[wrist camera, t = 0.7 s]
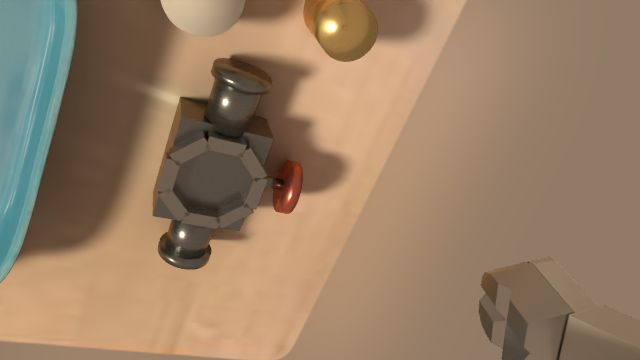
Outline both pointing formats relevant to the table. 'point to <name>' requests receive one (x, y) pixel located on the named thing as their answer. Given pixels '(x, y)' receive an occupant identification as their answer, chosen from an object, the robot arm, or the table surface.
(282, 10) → the table surface
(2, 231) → the casserole dish
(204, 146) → the valve body
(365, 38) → the brass coupling
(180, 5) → the cream pebble-shaped knob
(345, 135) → the table surface
